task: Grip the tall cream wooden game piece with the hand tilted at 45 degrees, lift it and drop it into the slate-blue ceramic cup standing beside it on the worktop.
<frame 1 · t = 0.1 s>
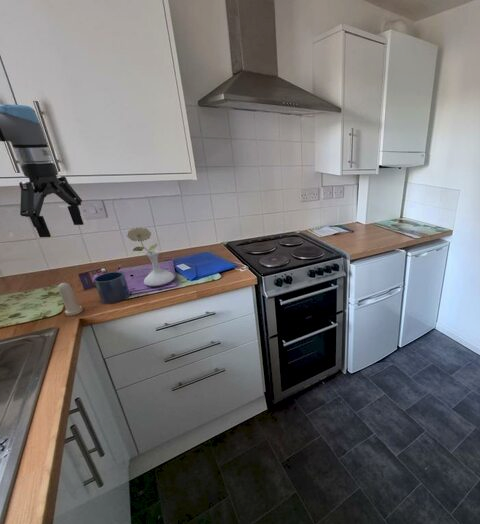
hand: (63, 230, 98), 30 cm above the worktop, tool pointing down, fingers open, 13 cm apart
flower in vase: (158, 283, 129), on the worktop
purple printed box: (97, 284, 127), on the worktop
cup: (115, 297, 117), on the worktop
game piece: (74, 312, 107), on the worktop
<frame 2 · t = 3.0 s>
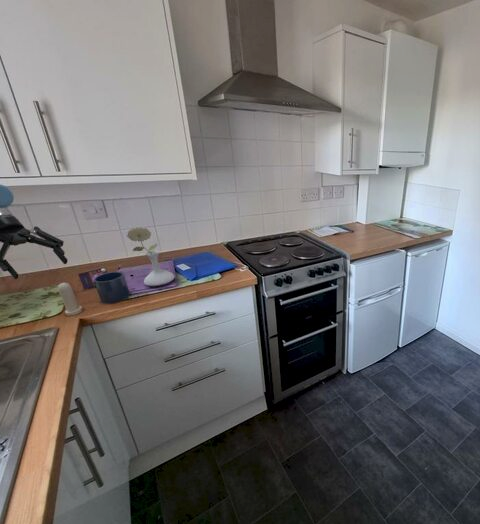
hand: (42, 269, 105), 15 cm above the worktop, tool tilted 45°, fingers open, 13 cm apart
nothing on the worktop moved.
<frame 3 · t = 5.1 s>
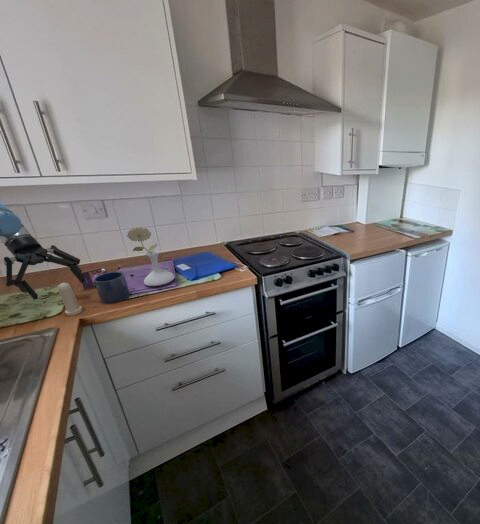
hand: (60, 288, 105), 9 cm above the worktop, tool tilted 45°, fingers open, 13 cm apart
nothing on the worktop moved.
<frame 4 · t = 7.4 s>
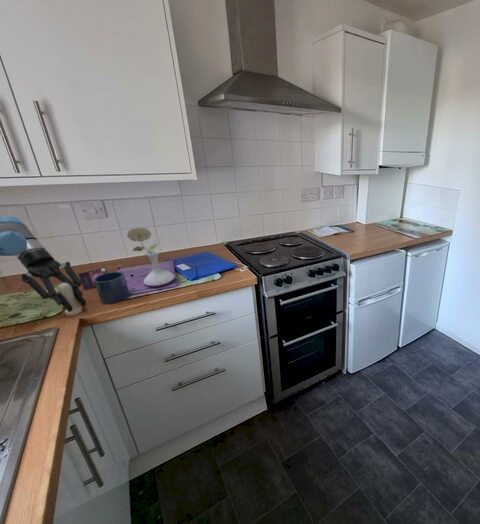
hand: (77, 306, 104), 3 cm above the worktop, tool tilted 45°, fingers closed on game piece, 3 cm apart
game piece: (74, 312, 107), on the worktop, touching gripper
everything else where it was.
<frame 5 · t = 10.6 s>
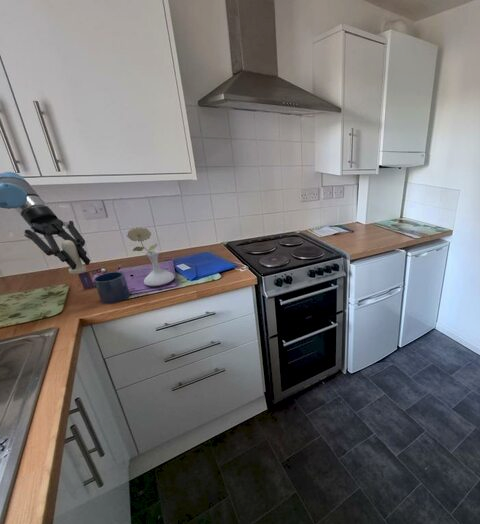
hand: (81, 264, 103), 17 cm above the worktop, tool tilted 45°, fingers closed on game piece, 3 cm apart
game piece: (78, 271, 105), point 14 cm above the worktop, touching gripper
everything else where it was.
when the fingers open (12 cm above the worktop, at t = 13.8 s): game piece drops 8 cm, resting on cup.
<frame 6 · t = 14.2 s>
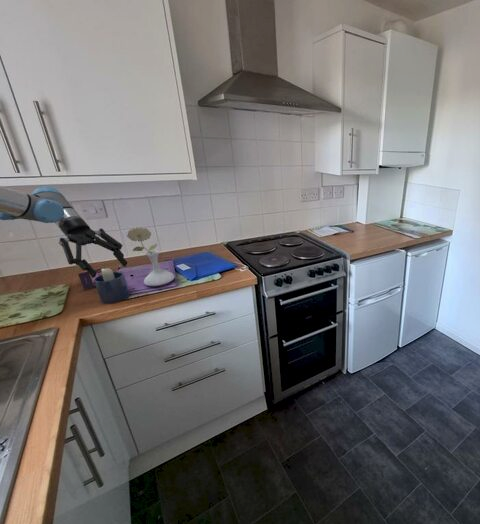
hand: (110, 269, 111), 12 cm above the worktop, tool tilted 45°, fingers open, 10 cm apart
game piece: (115, 295, 117), point 1 cm above the worktop, touching cup
everything else where it was.
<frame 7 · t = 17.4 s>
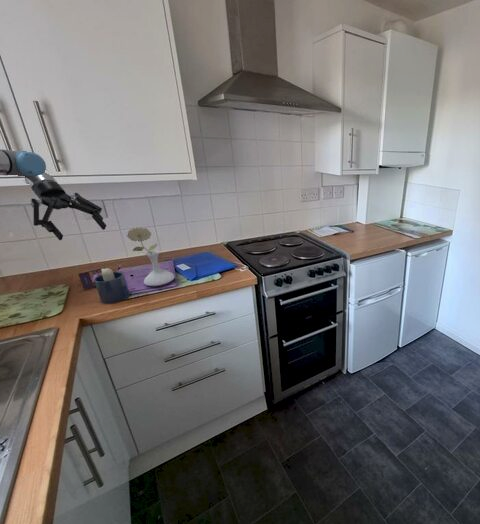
hand: (84, 232, 109), 26 cm above the worktop, tool tilted 45°, fingers open, 13 cm apart
nothing on the worktop moved.
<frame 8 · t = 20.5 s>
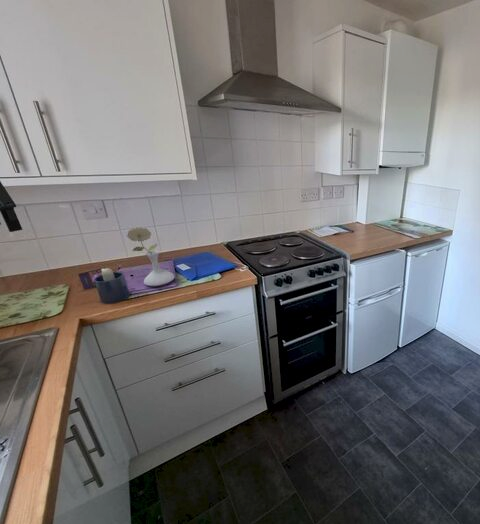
hand: (5, 228, 93), 32 cm above the worktop, tool pointing down, fingers open, 13 cm apart
nothing on the worktop moved.
at the end: game piece inside the target area in the cup (0.0 cm from its centre), point 0.8 cm above the cup's base; the gripper is holding nothing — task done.
